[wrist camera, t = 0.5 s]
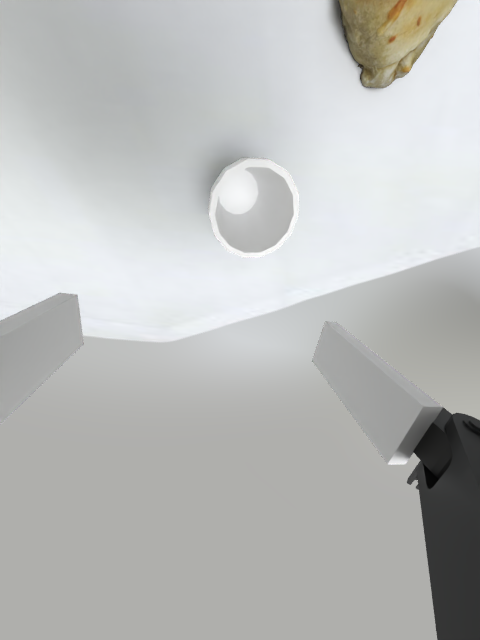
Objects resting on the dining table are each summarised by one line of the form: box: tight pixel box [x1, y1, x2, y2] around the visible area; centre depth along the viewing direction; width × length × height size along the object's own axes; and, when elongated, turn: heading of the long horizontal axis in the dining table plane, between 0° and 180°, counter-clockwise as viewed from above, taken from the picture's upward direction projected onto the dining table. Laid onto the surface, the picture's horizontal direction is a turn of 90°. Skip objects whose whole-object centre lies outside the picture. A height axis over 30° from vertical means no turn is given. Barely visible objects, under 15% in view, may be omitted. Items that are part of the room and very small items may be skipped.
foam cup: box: [208, 158, 299, 258], centre depth 28 cm, size 10×9×13 cm
